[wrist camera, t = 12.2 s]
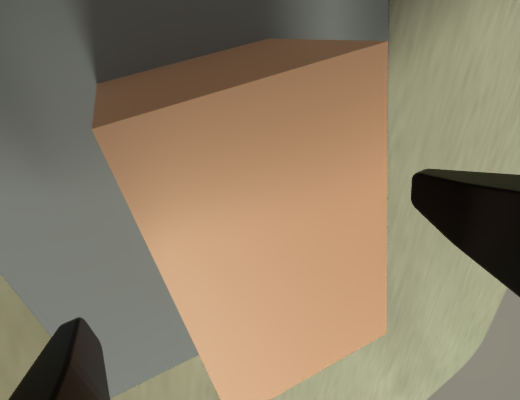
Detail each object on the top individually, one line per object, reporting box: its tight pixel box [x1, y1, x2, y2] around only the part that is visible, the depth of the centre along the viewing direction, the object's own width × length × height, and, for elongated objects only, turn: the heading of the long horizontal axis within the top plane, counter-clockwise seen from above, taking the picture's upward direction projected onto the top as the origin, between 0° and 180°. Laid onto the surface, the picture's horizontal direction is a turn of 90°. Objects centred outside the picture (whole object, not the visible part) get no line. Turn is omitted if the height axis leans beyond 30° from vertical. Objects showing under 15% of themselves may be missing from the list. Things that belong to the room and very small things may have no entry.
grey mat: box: [0, 0, 389, 399], centre depth 11 cm, size 14×14×1 cm
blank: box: [92, 38, 388, 400], centre depth 9 cm, size 5×8×5 cm, turn 12°
